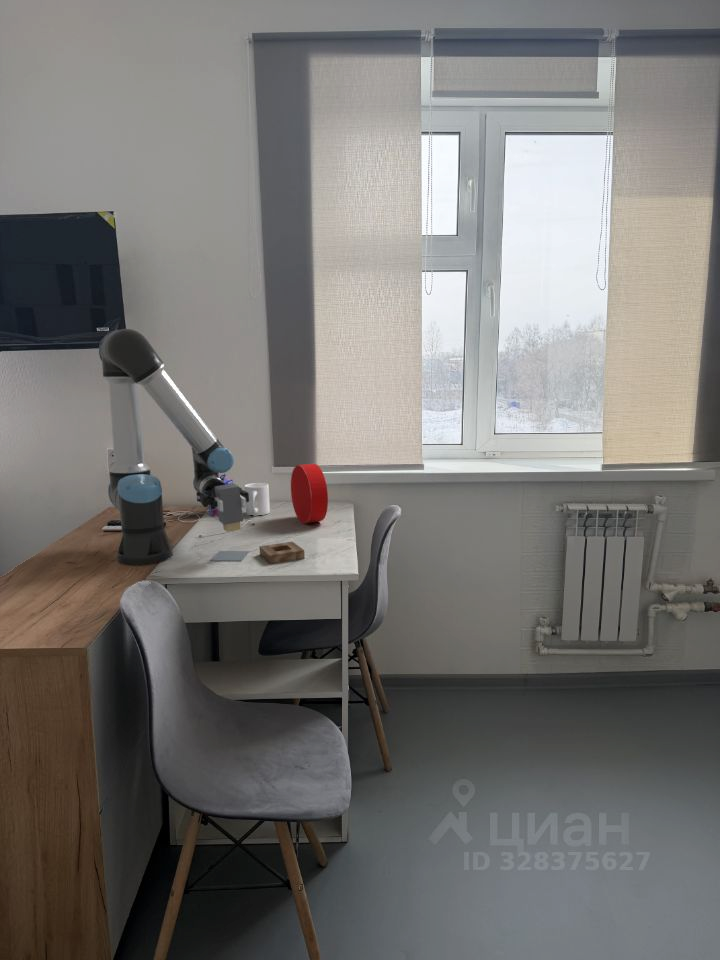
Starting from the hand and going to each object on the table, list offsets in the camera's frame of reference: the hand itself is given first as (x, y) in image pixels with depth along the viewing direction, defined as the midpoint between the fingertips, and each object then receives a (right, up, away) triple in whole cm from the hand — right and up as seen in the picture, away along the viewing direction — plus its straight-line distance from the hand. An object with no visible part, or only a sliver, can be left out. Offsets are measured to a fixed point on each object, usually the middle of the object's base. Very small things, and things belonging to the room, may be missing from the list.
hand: (233, 505), depth 182 cm
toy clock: (+17, -8, +47) cm, 51 cm away
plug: (-2, -7, +6) cm, 10 cm away
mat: (-2, -15, +7) cm, 17 cm away
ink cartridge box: (-16, -5, +63) cm, 65 cm away
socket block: (+13, -15, +6) cm, 21 cm away
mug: (-3, -6, +59) cm, 59 cm away
